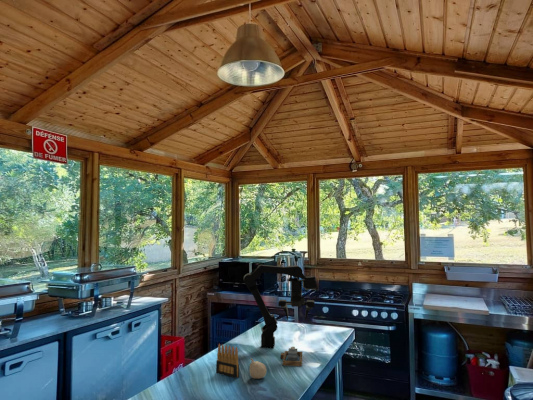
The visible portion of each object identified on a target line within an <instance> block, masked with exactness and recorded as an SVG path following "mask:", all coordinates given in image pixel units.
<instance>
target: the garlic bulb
mask: <svg viewBox="0 0 533 400" xmlns="http://www.w3.org/2000/svg"><path fill="white" fill-rule="evenodd" d="M250 360H251V363H250V364H249V375H250V377H251V378H252V379H256V380H257V379H259V380H260V379H263V378H264V377H266V376H267V375H266V374H267V366H266V365H265V364H264V363H262V362H260V361H255V360H254V359H253V358H250Z"/></svg>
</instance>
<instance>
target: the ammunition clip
mask: <svg viewBox="0 0 533 400" xmlns="http://www.w3.org/2000/svg"><path fill="white" fill-rule="evenodd" d="M217 346H218V347H217V354H216V356H217V357H216V359H217V360H216V362H215V363H216V367H215V369H216V370H215V373H216V374H217V375H222V376H225V377H230V378H234V379H238V378H239V377H240V364H239V349H238V347H237V346H236V347H234V346H232V347H231V345H227V344H225V345H224V344H223V343H222V344H220V342H219V343H218V345H217Z"/></svg>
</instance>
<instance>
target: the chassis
mask: <svg viewBox="0 0 533 400" xmlns="http://www.w3.org/2000/svg"><path fill="white" fill-rule="evenodd" d="M303 355H304V354H303V351H302V350H301V351H298V350H297V357H299V360H297V361H288V360H287V358H288V350H284V352H281V353H280V359H282V366H290V367H302V366H303Z"/></svg>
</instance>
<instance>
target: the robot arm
mask: <svg viewBox="0 0 533 400" xmlns="http://www.w3.org/2000/svg"><path fill="white" fill-rule="evenodd" d="M264 273H266V274H267V273H268V274H278V275H287V276H289V277H288V278H287V279H286V280H287V282H290V301H287V299H279V300H278V303H277V306H278V307H280V309H283V312H284V314H285V317H286V320H287V321H289V310H288V306H291V307H293V308H295V307H296V308H297V307H298V308H300V307H302V306H305V307H306V308H305V314H304V321H307V318H308V315H309V312H310V310H313V308H315V307H316V306H315V300H314V299H312V300H311V299H305V296H303V289H304V291H305V290H306V291H309V290H310V291H311V290H314V291H316V290H317V286H318V285H317V284H318V283H317V280H316V276H306V275H305V274H304V273H303V268H302V267H301V266H299V265H295V264H294V265H287V266H278V265H267V264H258V266H256V268H255V269H252V271H251V272H249V273H246V274H245V275H243V283H244V284H245V286H246V287H247V289H248V290H249V291H250V293H251V294H252V296H253V298H254V300H255V303H256V305H257V306H258V309H259V311H260V313H261V315H262V318H263V322H264V325H263V326H262V327H261V332H262V333H261V335H260V349H274V347H275V344H276V337H275V335H274V334H275V332H276V331H277V330H278V320H277V319H276V317H275V314H274V313H272V314H271V313H270V312H269V310H268V307H267V305H266V304H265V301H264V299H263V297H262V295H261V293H260V291H259V289H258V286H257V282H256V280H257V279H258V278H259V277H260V276H261V275H262V274H264ZM299 278H300V279H299ZM305 300H306V301H305Z"/></svg>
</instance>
